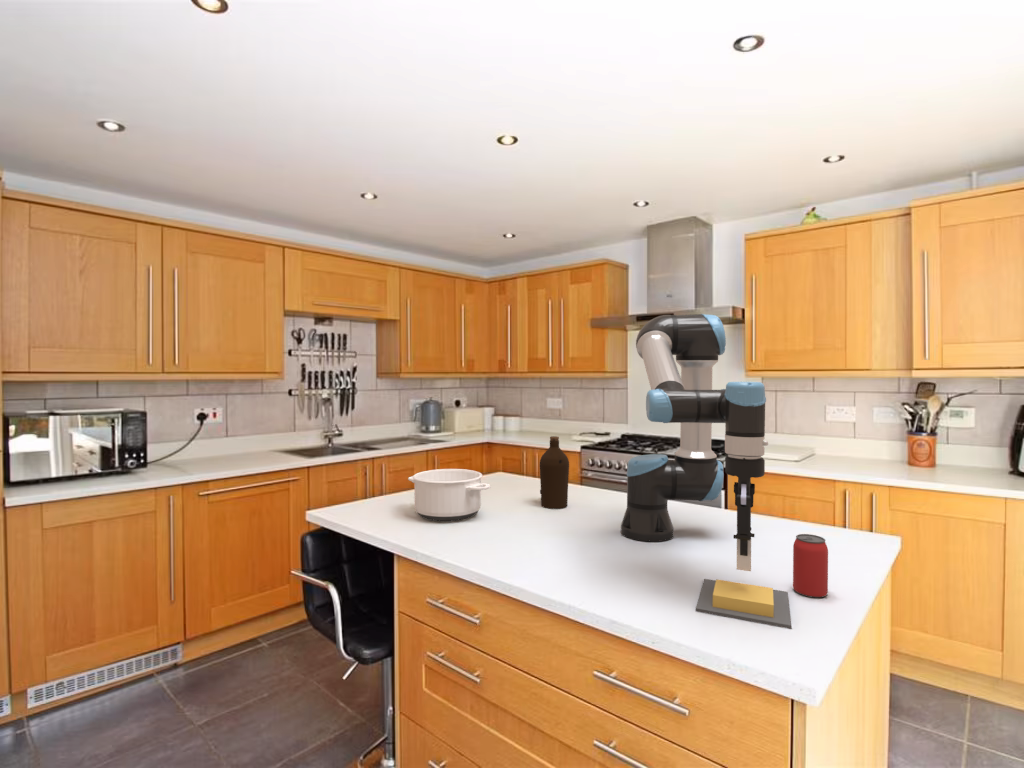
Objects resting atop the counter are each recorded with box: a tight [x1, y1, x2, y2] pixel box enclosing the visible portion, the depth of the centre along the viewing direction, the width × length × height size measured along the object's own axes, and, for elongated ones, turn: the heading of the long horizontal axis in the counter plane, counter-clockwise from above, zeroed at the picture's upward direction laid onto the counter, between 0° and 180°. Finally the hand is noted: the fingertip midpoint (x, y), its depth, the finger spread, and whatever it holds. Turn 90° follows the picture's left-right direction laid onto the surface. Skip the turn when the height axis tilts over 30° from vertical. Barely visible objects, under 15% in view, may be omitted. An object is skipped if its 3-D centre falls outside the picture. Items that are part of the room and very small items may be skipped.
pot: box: [407, 468, 491, 523], centre depth 178 cm, size 33×23×14 cm
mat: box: [695, 578, 793, 630], centre depth 110 cm, size 17×17×1 cm
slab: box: [713, 579, 774, 618], centre depth 108 cm, size 11×2×9 cm
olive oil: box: [539, 435, 570, 510], centre depth 191 cm, size 11×11×25 cm
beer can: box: [792, 533, 829, 599], centre depth 115 cm, size 7×7×12 cm
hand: (743, 569), depth 110 cm, fingers closed
